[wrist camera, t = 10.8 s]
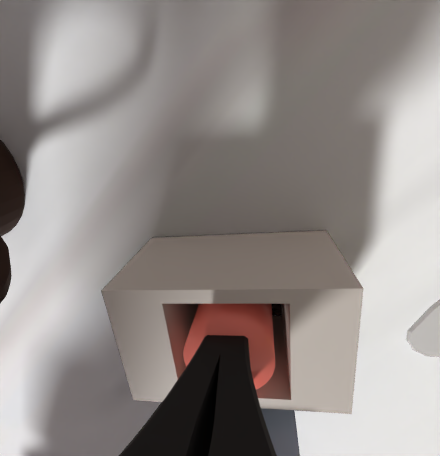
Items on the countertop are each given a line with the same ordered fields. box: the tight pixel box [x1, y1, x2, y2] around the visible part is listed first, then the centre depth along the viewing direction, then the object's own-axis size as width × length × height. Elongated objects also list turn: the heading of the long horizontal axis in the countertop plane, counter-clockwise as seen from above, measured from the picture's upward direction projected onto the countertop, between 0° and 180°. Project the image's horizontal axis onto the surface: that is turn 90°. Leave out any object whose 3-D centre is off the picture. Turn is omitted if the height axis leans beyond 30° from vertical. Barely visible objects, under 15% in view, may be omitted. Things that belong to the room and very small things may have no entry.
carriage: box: [261, 408, 300, 456], centre depth 12 cm, size 4×5×6 cm
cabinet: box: [101, 230, 363, 414], centre depth 11 cm, size 8×5×4 cm, turn 96°
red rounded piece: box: [183, 304, 275, 390], centre depth 10 cm, size 3×3×4 cm
